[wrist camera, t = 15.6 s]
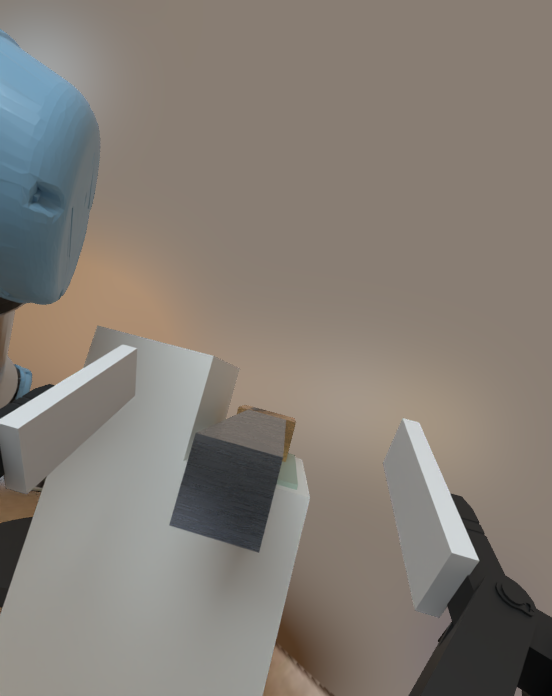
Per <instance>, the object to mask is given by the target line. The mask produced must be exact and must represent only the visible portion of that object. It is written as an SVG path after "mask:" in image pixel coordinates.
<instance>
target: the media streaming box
mask: <svg viewBox="0 0 552 696" xmlns="http://www.w3.org/2000/svg"><path fill="white" fill-rule="evenodd" d="M32 519H33V517H29V518H22V519H17V520H12V521H8V522H3V523H0V607H3V605H4V602H5V599H6V596H7V593H8V590H9V587H10V584H11V581H12V578H13V575H14V572H15V569H16V566H17V563H18V560H19V557H20V554H21V551H22V548H23V545H24V542H25V540H26V537H27V534H28V531H29V528H30V525H31V522H32Z"/></svg>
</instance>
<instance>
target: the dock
mask: <svg viewBox="0 0 552 696" xmlns="http://www.w3.org/2000/svg"><path fill="white" fill-rule="evenodd" d="M121 345H127V346H130V347H134V348H137V366H136V390H135V396H134V397H133V398H132V399H131V400H130V401H129V402H128V403H127V404H125V405H124V406H123V407H122V408H121V409H120V410H119V411H118V412H117V413H116V414H114V415H113V416H112V417H111V418H110V419H109V420H108V421H107V422H106V423H105V424H103V425H102V426H101V427H100V428H99V429H98V430H97V431H96V432H95V433H94V434H93V435H91V436H90V437H89V438H88V439H87V440H86V441H85V442H84V443H83V444H82V445H80V446H79V447H78V448H77V449H76V450H75V451H74V452H73V453H72V454H71V455H69V456H68V457H67V458H66V459H65V460H64V461H63V462H62V463H61V464H60V465H58V466H57V467H56V468H55V469H54V470H53V471H52V472H51V473H50V474H49V475H48V476H47V477H46V480H45V483H44V486H43V489H42V492H41V495H40V498H39V501H38V504H37V507H36V510H35V513H34V516H33V519H32V522H31V525H30V528H29V531H28V534H27V537H26V540H25V542H24V545H23V548H22V551H21V554H20V557H19V560H18V563H17V566H16V569H15V572H14V575H13V578H12V581H11V584H10V587H9V590H8V593H7V596H6V599H5V602H4V605H3V608H2V611H1V614H0V696H263V692H264V688H265V684H266V679H267V675H268V671H269V667H270V663H271V659H272V654H273V650H274V646H275V642H276V638H277V633H278V629H279V625H280V621H281V617H282V613H283V608H284V604H285V600H286V595H287V591H288V587H289V583H290V579H291V575H292V570H293V567H294V562H295V558H296V554H297V549H298V546H299V541H300V537H301V533H302V529H303V525H304V520H305V516H306V512H307V508H308V504H309V500H310V495H309V490H308V486H307V481H306V476H305V471H304V466H303V461H302V459H300V458H296V457H295V455H293V454H289V453H288V455H287V459H286V462H284V461H282V464H281V468H280V472H279V476H278V480H277V484H276V488H275V492H274V496H273V500H272V504H271V508H270V511H269V515H268V519H267V523H266V527H265V531H264V535H263V539H262V543H261V547H260V551H259V553H258V552H255V551H252V550H248V549H245V548H242V547H238V546H235V545H232V544H228V543H225V542H222V541H219V540H215V539H212V538H209V537H205V536H202V535H199V534H196V533H192V532H189V531H186V530H182V529H179V528H176V527H172V526H169V524H170V520H171V517H172V513H173V510H174V506H175V503H176V499H177V496H178V493H179V489H180V486H181V482H182V479H183V475H184V472H185V468H186V465H187V461H188V458H189V454H190V451H191V447H192V444H193V440H194V437H195V433H196V432H199V431H201V430H203V429H205V428H208V427H210V426H212V425H214V424H217V423H219V422H221V421H223V420H225V419H226V415H227V412H228V408H229V405H230V401H231V398H232V394H233V390H234V386H235V383H236V380H237V376H238V372H239V368H238V367H235V366H234V365H231V364H229V363H227V362H225V361H223V360H221V359H219V358H217V357H215V356H212V355H208V354H204V353H200V352H196V351H193V350H189V349H185V348H181V347H177V346H173V345H170V344H166V343H162V342H158V341H154V340H151V339H147V338H143V337H139V336H136V335H132V334H128V333H124V332H120V331H116V330H112V329H109V328H105V327H101V326H97V329H96V332H95V335H94V338H93V340H92V344H91V346H90V349H89V352H88V356H87V358H86V361H85V364H84V367H83V368H85V367H86V366H88V365H90V364H91V363H93V362H95V361H96V360H98V359H100V358H101V357H103V356H104V355H106V354H108V353H109V352H111V351H113V350H114V349H116V348H118V347H119V346H121Z"/></svg>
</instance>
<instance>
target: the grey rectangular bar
mask: <svg viewBox="0 0 552 696" xmlns="http://www.w3.org/2000/svg"><path fill="white" fill-rule="evenodd" d="M295 422H296V421H295V418H291V417H288V416H284V415H281V414H277V413H273V412H270V411H266V410H262V409H258V408H255V407H251V406H247V405H243V406H240V407H239V409H238V412H237V415H235V416H232V417H230V418H228V419H226V420H223V421H221V422H219V423H217V424H214V425H212V426H210V427H208V428H205V429H203V430H201V431H199V432H196V433H195V437H194V440H193V444H192V447H191V451H190V454H189V458H188V461H187V465H186V468H185V472H184V475H183V479H182V482H181V486H180V489H179V493H178V496H177V499H176V503H175V506H174V510H173V513H172V517H171V520H170V524H169V526H172V527H176V528H179V529H182V530H186V531H189V532H192V533H196V534H199V535H202V536H205V537H209V538H212V539H215V540H219V541H222V542H225V543H228V544H232V545H235V546H238V547H242V548H245V549H248V550H252V551H255V552H258V553H259V551H260V547H261V543H262V539H263V535H264V531H265V527H266V523H267V519H268V515H269V511H270V508H271V504H272V500H273V496H274V492H275V488H276V484H277V480H278V476H279V472H280V468H281V464H282V461H284V462H286V459H287V455H288V451H289V447H290V443H291V439H292V435H293V431H294V427H295Z"/></svg>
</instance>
